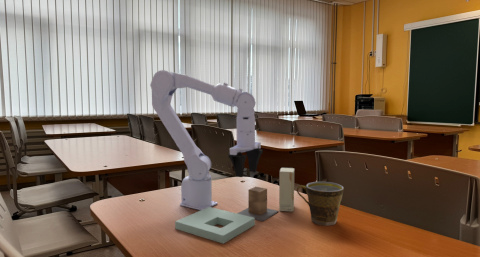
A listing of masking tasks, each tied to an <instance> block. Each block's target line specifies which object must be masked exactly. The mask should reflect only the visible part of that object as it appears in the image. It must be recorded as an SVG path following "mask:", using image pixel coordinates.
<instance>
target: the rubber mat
mask: <svg viewBox="0 0 480 257" xmlns="http://www.w3.org/2000/svg"><path fill="white" fill-rule="evenodd" d="M236 213H237V214H241V215H245V216H249V217H253V218H255V221H260V222H264V221H266V220H267V219H269V218H271V217H273V216H275V215H276V214H277V213H279V210H277V209H276V210H275V209H271V208H268V207H267V212H265V213H264V214H262V215H256V214H252V213H248V207H247V208H245V209H243V210H241V211H239V212H236Z"/></svg>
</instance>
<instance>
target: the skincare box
mask: <svg viewBox="0 0 480 257" xmlns="http://www.w3.org/2000/svg"><path fill="white" fill-rule="evenodd" d="M278 176H279V177H278V178H279V182H278V183H279V191H278V192H279V194H278V195H279V200H278V201H279V202H278V204H279V205H278V212H279V211H281V212H294V208H295V168H293V167H281V168H280V169H279V175H278Z"/></svg>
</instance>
